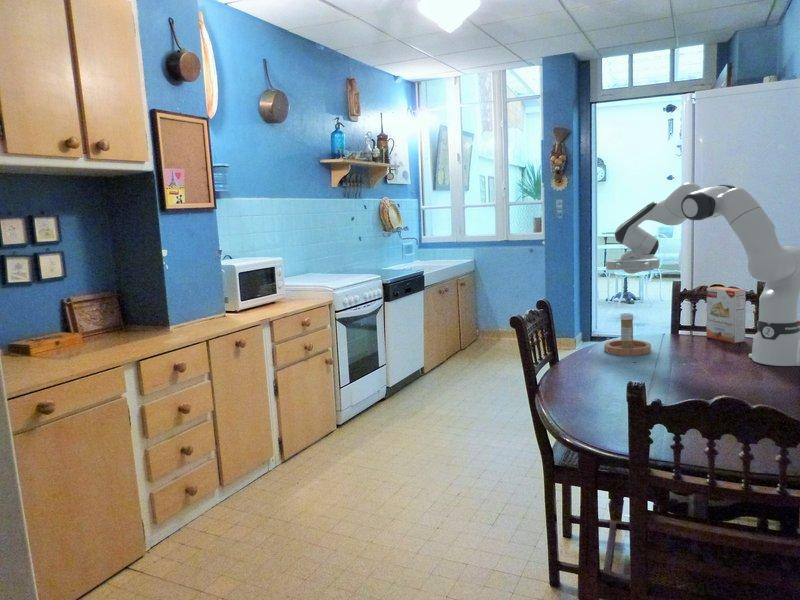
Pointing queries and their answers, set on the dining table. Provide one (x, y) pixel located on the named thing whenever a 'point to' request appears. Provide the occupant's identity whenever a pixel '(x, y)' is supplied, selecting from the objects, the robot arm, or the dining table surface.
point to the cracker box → (726, 314)
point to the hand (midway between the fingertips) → (632, 266)
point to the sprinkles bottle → (626, 330)
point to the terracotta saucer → (637, 349)
